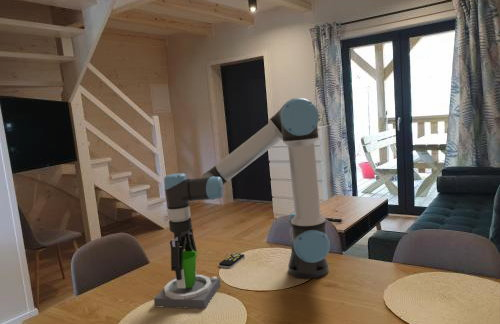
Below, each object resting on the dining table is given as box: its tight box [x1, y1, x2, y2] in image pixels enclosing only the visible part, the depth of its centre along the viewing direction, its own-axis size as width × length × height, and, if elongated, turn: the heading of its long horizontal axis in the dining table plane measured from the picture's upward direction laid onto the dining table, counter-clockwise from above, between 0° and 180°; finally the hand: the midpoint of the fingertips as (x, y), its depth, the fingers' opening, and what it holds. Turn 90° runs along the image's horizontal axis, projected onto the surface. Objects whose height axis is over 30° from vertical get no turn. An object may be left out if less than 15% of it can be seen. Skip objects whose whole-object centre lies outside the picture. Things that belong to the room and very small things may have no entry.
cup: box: [182, 249, 198, 288], centre depth 128 cm, size 9×9×11 cm
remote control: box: [219, 252, 245, 269], centre depth 156 cm, size 6×13×2 cm, turn 151°
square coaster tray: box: [153, 274, 221, 310], centre depth 129 cm, size 18×16×4 cm
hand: (187, 281), depth 128 cm, fingers closed on cup, 9 cm apart
